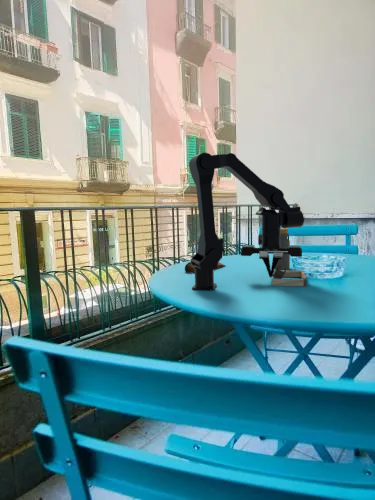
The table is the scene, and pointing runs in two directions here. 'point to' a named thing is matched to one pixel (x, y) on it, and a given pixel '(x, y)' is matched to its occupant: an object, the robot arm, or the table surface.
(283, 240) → the bottle
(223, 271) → the table surface
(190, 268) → the sweet potato
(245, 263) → the table surface
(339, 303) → the table surface
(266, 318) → the table surface
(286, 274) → the display frame
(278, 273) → the strap clip
